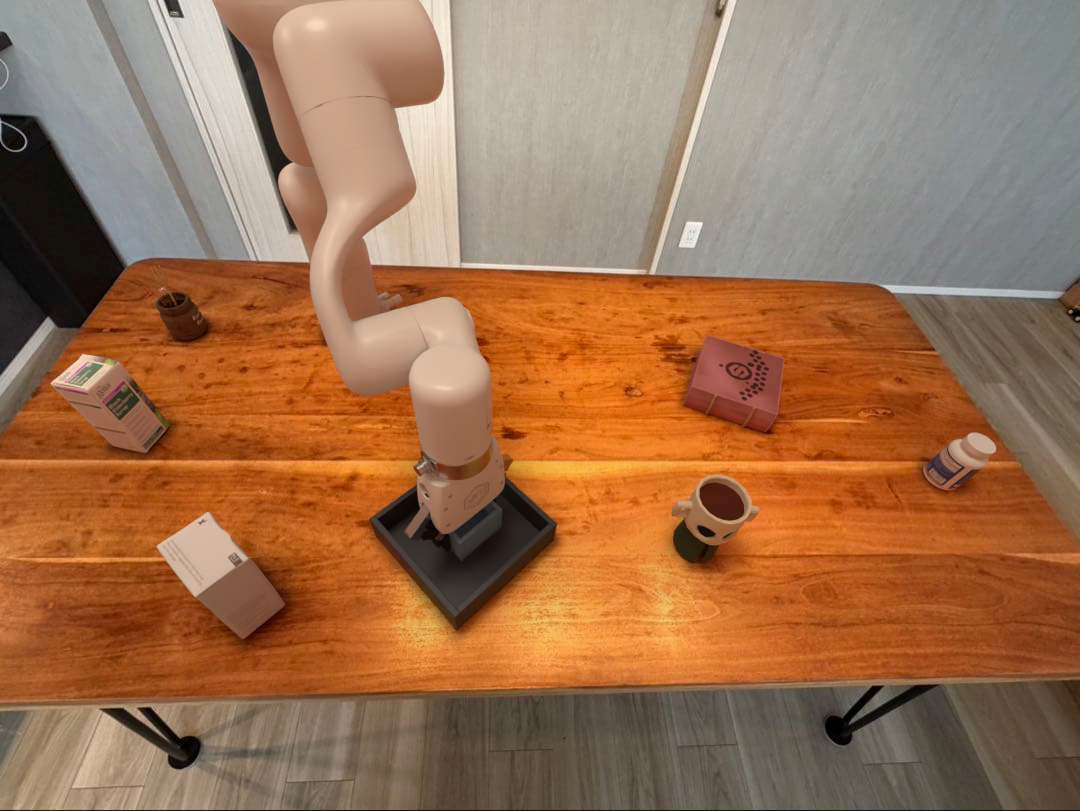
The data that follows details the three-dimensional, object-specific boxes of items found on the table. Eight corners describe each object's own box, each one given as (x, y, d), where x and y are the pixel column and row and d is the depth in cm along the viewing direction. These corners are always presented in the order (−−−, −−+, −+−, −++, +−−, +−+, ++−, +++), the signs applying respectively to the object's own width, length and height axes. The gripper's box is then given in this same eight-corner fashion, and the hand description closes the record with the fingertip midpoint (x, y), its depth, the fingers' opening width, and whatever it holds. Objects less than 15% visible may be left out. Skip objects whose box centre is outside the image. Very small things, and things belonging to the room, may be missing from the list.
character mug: (658, 565, 72) (684, 521, 62) (653, 518, 76) (676, 470, 66) (735, 570, 72) (774, 527, 62) (725, 523, 76) (760, 476, 67)
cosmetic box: (209, 596, 65) (149, 545, 53) (254, 562, 68) (206, 507, 57) (245, 643, 62) (190, 599, 50) (291, 605, 65) (248, 555, 53)
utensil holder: (175, 346, 92) (140, 291, 83) (169, 325, 95) (134, 270, 86) (211, 335, 94) (181, 280, 85) (204, 315, 97) (174, 261, 88)
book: (682, 408, 91) (690, 389, 87) (698, 353, 100) (706, 334, 96) (764, 436, 88) (777, 418, 84) (773, 377, 97) (784, 358, 93)
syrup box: (146, 454, 77) (88, 390, 66) (110, 446, 78) (47, 381, 67) (171, 425, 81) (120, 360, 70) (137, 418, 81) (81, 352, 70)
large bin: (472, 463, 80) (471, 444, 76) (554, 540, 73) (557, 523, 69) (375, 535, 71) (368, 518, 68) (457, 631, 64) (454, 617, 60)
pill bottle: (953, 469, 86) (997, 434, 79) (959, 496, 83) (1005, 462, 75) (919, 459, 87) (959, 424, 79) (924, 485, 83) (966, 450, 76)
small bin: (468, 494, 72) (466, 474, 69) (501, 527, 69) (502, 509, 66) (427, 525, 69) (423, 507, 65) (461, 561, 66) (459, 544, 62)
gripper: (411, 519, 49) (429, 589, 63) (538, 423, 58) (530, 502, 71) (366, 471, 52) (393, 547, 66) (494, 386, 61) (494, 469, 75)
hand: (464, 523), depth 69 cm, fingers closed on small bin, 7 cm apart
